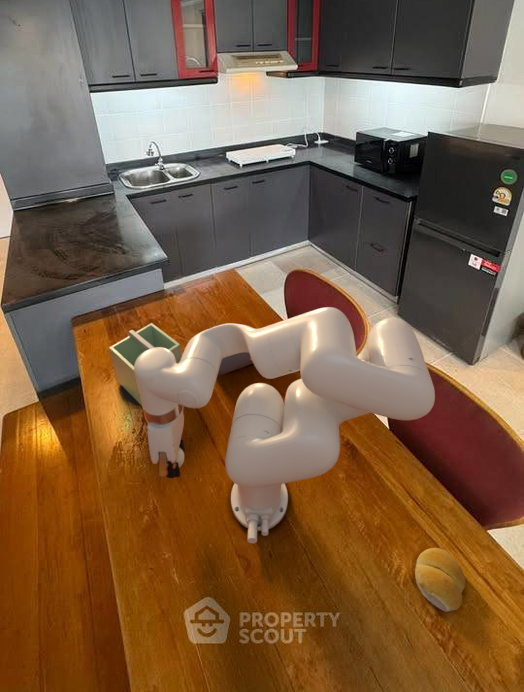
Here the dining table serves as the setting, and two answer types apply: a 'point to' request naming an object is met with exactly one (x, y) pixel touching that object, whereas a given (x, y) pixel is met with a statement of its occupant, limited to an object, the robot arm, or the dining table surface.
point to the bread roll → (440, 579)
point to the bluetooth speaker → (234, 362)
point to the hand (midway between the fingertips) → (175, 463)
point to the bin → (133, 347)
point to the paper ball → (179, 457)
